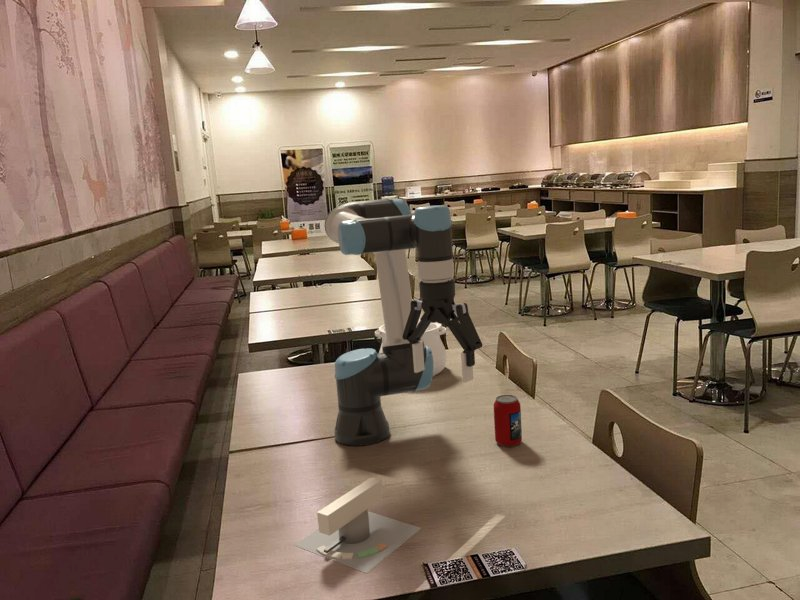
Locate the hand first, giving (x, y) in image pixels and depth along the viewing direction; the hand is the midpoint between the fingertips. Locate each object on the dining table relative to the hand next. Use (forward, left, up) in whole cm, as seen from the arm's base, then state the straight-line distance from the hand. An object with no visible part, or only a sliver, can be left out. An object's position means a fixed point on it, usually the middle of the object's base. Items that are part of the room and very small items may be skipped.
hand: (443, 375), depth 142 cm
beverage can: (+1, +27, -26) cm, 37 cm away
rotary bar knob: (-4, -28, -24) cm, 38 cm away
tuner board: (-3, -28, -26) cm, 38 cm away
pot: (-58, +68, -26) cm, 93 cm away
